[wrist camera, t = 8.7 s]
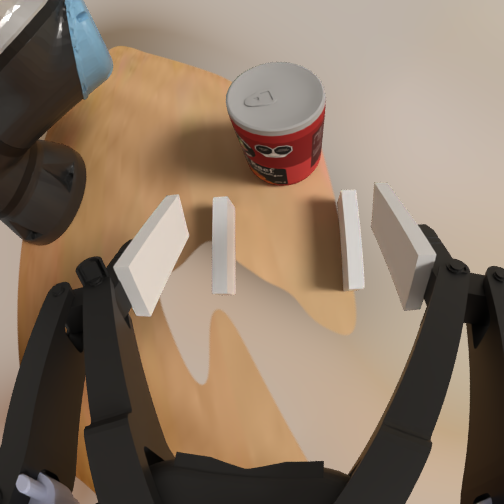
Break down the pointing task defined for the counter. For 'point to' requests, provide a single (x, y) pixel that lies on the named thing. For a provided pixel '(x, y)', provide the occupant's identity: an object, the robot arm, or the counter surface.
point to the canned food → (278, 120)
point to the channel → (226, 244)
